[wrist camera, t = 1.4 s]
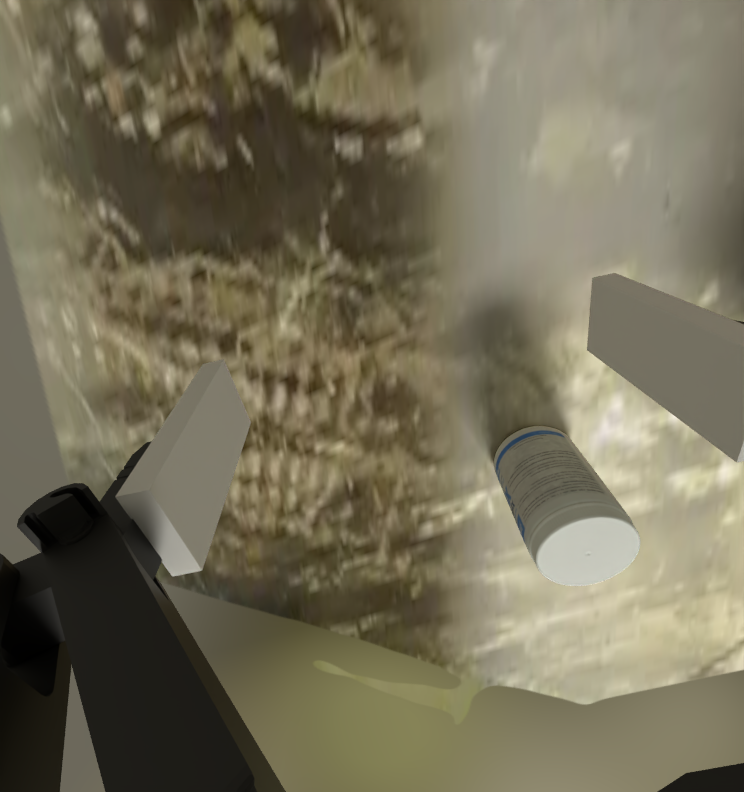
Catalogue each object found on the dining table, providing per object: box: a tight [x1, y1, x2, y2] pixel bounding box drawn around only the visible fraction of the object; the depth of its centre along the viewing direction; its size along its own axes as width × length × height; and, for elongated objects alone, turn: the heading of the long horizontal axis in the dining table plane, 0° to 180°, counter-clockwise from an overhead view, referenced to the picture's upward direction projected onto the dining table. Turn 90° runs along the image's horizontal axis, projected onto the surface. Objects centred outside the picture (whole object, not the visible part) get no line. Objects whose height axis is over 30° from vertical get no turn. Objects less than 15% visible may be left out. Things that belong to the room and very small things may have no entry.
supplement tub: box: [494, 426, 640, 586], centre depth 43 cm, size 10×10×15 cm
